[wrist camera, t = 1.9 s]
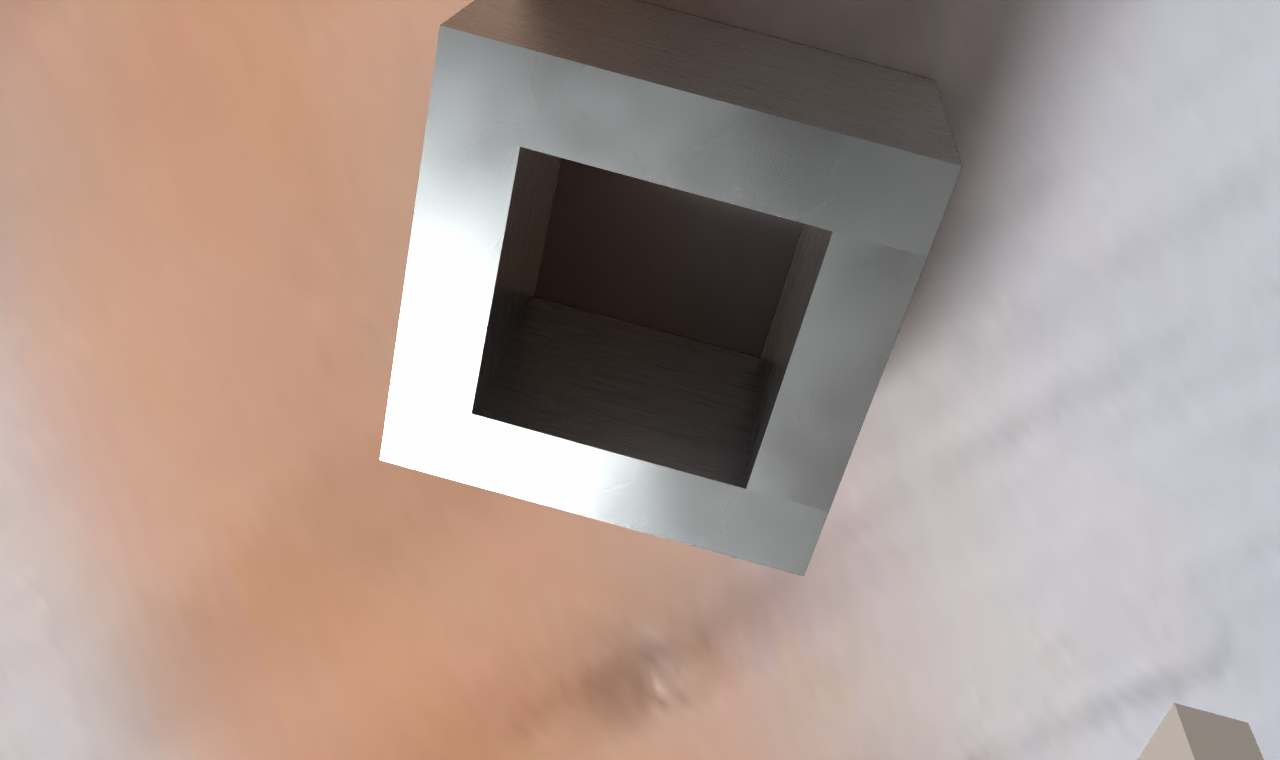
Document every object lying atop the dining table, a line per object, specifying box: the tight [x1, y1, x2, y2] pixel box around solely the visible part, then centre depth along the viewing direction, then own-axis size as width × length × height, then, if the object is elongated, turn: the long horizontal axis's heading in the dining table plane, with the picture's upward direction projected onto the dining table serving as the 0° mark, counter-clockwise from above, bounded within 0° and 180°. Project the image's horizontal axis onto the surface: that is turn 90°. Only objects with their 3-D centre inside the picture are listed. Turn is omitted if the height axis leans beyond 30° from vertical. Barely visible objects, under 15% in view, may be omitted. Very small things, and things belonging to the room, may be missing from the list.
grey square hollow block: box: [380, 0, 962, 576], centre depth 21 cm, size 8×8×5 cm
